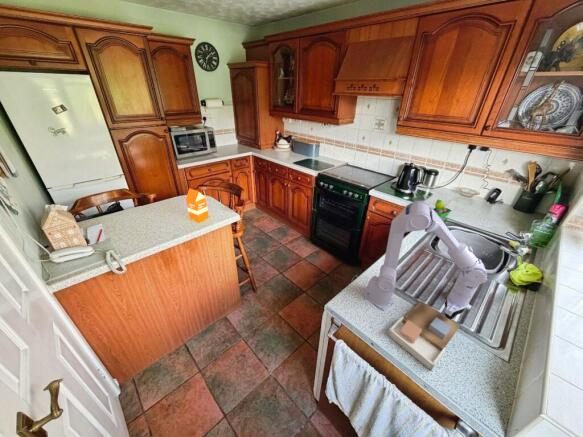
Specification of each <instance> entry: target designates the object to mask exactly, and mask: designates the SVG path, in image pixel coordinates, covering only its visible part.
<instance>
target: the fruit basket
mask: <svg viewBox="0 0 583 437" xmlns="http://www.w3.org/2000/svg"><path fill="white" fill-rule="evenodd" d="M445 206H446V205H445V203H444V201H443V200H441V199H437V200H436V201H435V204H434V207H435V208H432V209H433V210H434V211H435V212H436V213H437V215H438V216H439V217H440V218H441V219H443V217H444V218H446V217H448V216H449V214H450V213H451V212H452V209H450V208H448V207H445ZM445 216H446V217H445Z"/></svg>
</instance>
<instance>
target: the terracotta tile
mask: <svg viewBox="0 0 583 437" xmlns="http://www.w3.org/2000/svg"><path fill="white" fill-rule="evenodd" d="M421 332H422V329H421V328H419V327H418V326H416V325H415V324H414V323H412V322H411V321H409V320H408V321H407V322H406V323H405V325H404V326H403V328H402V329H401V330H400V334H402V335H403V336H404V337H406V338H407V339H408V340H410V341H411V342H412V343H415V341H416V340H417V338H418V337H419V335H420V334H421Z"/></svg>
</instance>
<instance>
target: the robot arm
mask: <svg viewBox="0 0 583 437" xmlns="http://www.w3.org/2000/svg"><path fill="white" fill-rule="evenodd" d="M433 209H434V208H431V206H430V205H429V204H428V202H426V201H424V200H416V201H413V202H411V203H408V204H407V205H406V206H405V207H404V209H402V211H400V212H399V214H397V215H396V216H395V217H394V218H393V219H392V221H391V225H390V228H389V233H388V239H387V245H386V250H385V255H384V260H383V261H384V262H383V264H382V265H381V266H380V268H379V274H378V276H377V275H374V276H372V277H371V278H370V280H369V281H368V283H367V285H366V289H365V293H364V294H363V296H364V298H366V299H367V300H368V301H370V303H372V304H374V305H375V306H376V307H377V308H379V309H380V310H382V311H386V310H387V309H388V308H389V307H390V306H392V304H393V303H394V302H395V299H393V296H394V292H395V289H396V287H397V285H396V282H397V274H398V269H397V266H398V262H399V257H400V253H401V248H402V244H403V240H404V236H405V233H408V232H419V231H420V232H421V231H424V232H425V233H434V234H435V236H436V237H438V238H439V240H440V241H441V242H442V243H443V244H444V245H445V247H447V251H446V254H447V255H448V256H449V257H450V259H451V260H452V261H453V262H454V263H455V265H457V267H458V268H459V269H460V270H461V272H460V274H459V277H458V276H457V277H458V279H457V281H456V283H455V285H454V286H453V288H452V290H451V292H450V294H449V295H448V297H447V300H446V299H445V301H444V306H445V307H444V308H445V310H444V313H445V314H444V316H445V317H447V318H448V319H450V320H451V321H452V320H453V319H454V318H455V317H456V316H458V315H460V314H461V315H462V313H463V312H464V311H465V310H471V309H472V305H471V304H470V301H471V299H472V298H473V297H474V295H475V293H476V292H477V290H478V288H479V287H480V285H481V284H484V283H486V282H487V281H488V272H487V269H486V267H485V264H484V263H483V261H482V260H481V259H480V258H478V257H477V256H476V255H475V253H474V250H473V247H471V246H470V245H469V246H468V245H467V244H466V243H464V242H459V241H458V240H457V239H456V237H455V236H454V235H453V233H452V231H450V229H449V228H448V227H447V225H446V224H445V222H444V221H443V220H442V218H440V217H439V216H438V215H437V213H436V212H435V211H434V210H433Z"/></svg>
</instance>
